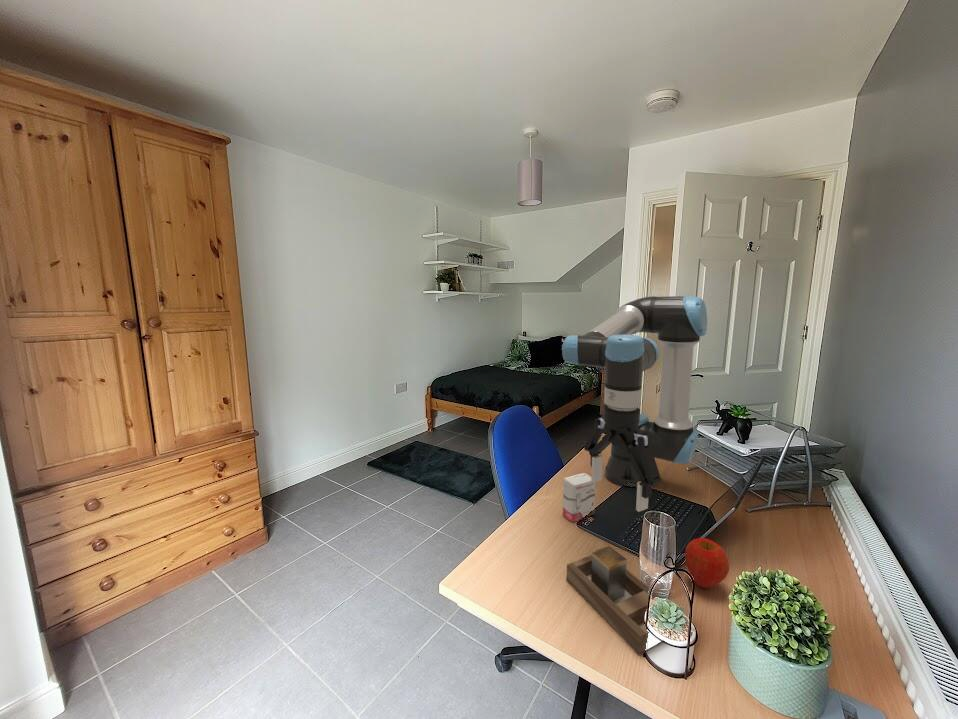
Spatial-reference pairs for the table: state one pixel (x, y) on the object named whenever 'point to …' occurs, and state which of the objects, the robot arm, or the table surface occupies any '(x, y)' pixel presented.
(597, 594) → the block
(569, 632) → the table surface
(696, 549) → the apple
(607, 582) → the square bit
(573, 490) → the ink box
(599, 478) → the robot arm
